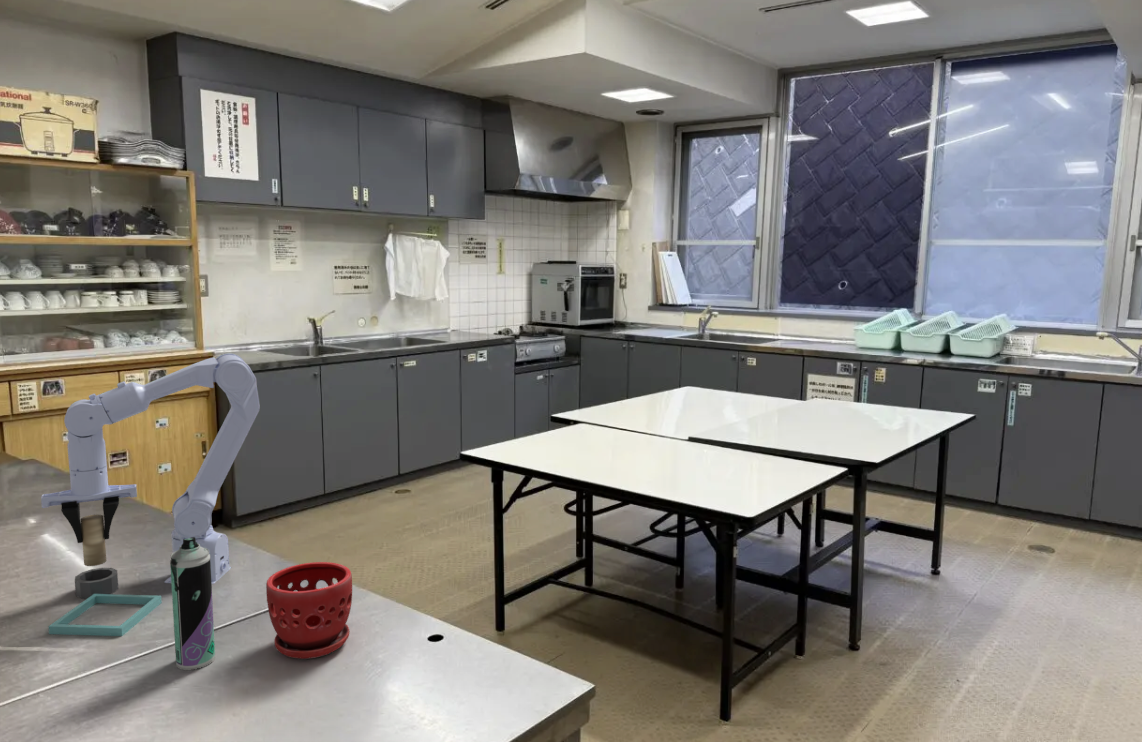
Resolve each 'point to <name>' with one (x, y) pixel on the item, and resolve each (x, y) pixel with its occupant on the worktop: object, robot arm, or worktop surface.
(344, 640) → the plant pot
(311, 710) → the worktop surface
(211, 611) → the spray can
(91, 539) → the birch dowel
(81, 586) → the dark gray cup
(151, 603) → the teal tray
